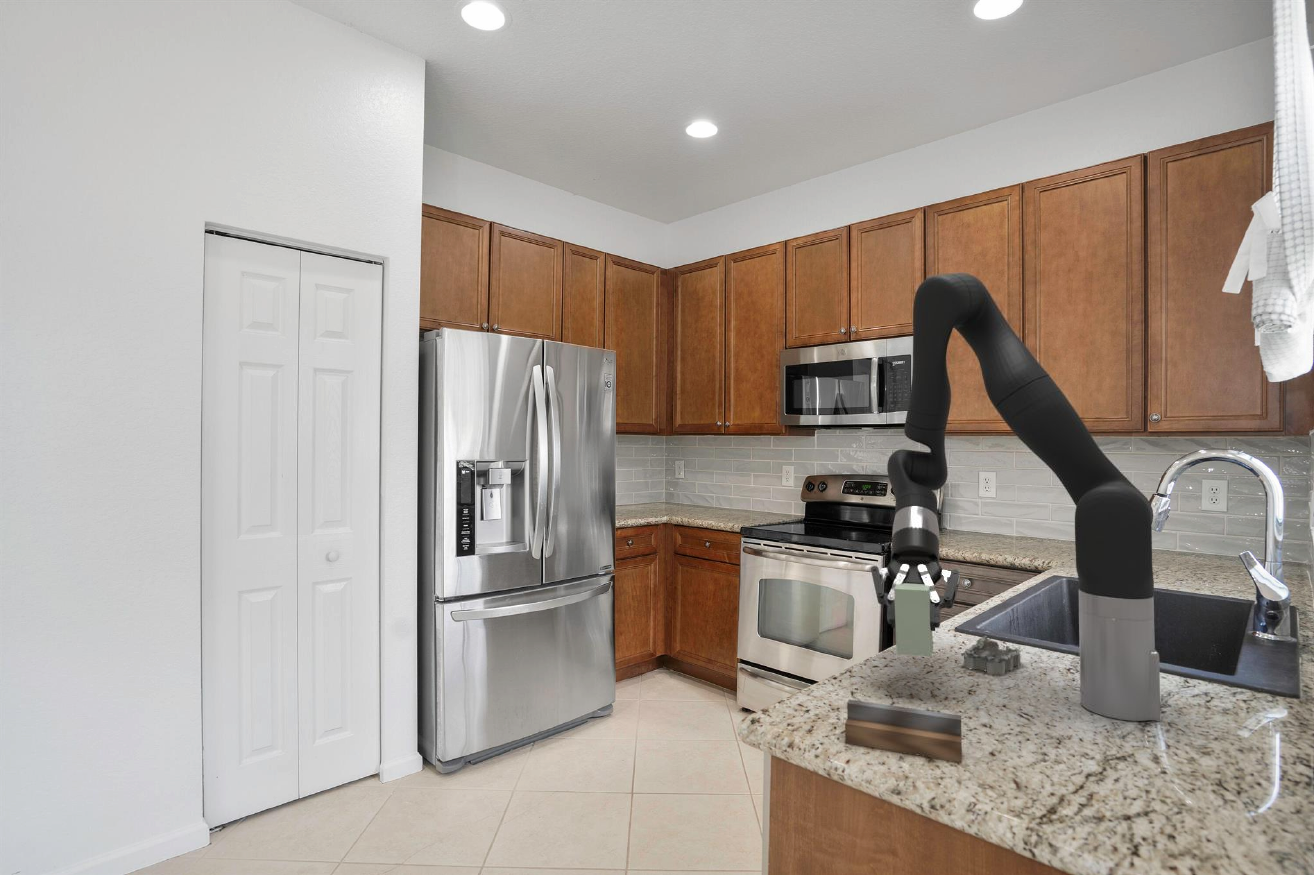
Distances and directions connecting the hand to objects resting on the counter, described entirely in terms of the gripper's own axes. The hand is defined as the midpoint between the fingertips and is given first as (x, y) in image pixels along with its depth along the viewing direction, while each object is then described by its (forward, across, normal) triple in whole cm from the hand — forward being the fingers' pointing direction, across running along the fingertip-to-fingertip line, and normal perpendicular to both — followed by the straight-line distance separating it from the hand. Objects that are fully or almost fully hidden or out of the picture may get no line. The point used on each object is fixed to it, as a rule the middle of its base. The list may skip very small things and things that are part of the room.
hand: (913, 626), depth 103 cm
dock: (+18, -1, -2) cm, 18 cm away
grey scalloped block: (-8, +11, +25) cm, 28 cm away
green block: (+2, 0, +4) cm, 5 cm away
